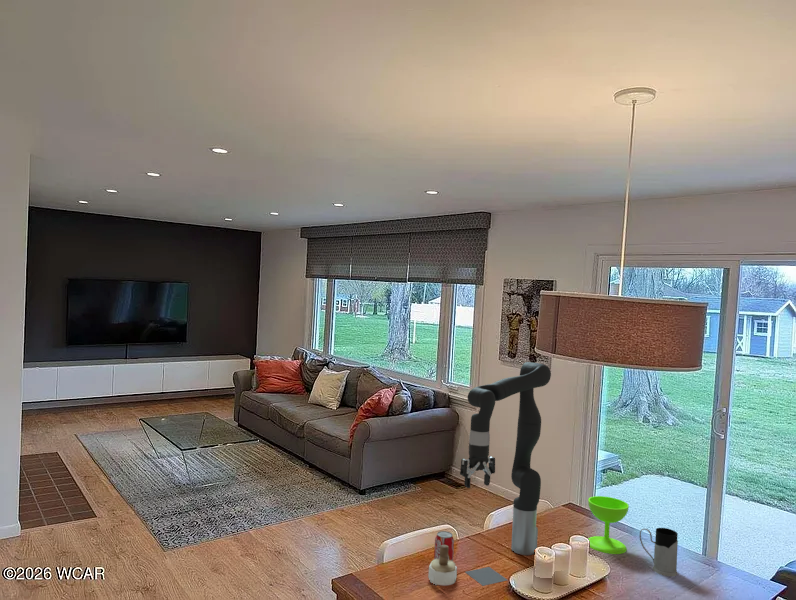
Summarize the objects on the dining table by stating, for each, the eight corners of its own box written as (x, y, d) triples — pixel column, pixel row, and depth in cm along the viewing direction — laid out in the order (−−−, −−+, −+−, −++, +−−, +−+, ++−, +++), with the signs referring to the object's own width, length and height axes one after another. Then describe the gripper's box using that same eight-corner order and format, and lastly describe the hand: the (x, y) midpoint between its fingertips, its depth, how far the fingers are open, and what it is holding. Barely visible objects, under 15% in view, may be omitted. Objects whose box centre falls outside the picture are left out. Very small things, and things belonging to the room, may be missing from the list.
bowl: (446, 572, 205) (446, 558, 205) (460, 583, 197) (461, 570, 197) (424, 576, 201) (424, 563, 201) (438, 588, 193) (438, 574, 193)
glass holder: (673, 578, 209) (675, 538, 210) (634, 565, 219) (636, 526, 219) (680, 571, 216) (682, 532, 216) (642, 559, 225) (644, 521, 226)
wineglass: (634, 549, 235) (636, 505, 235) (611, 557, 226) (613, 511, 226) (601, 535, 248) (603, 494, 248) (578, 542, 239) (580, 499, 239)
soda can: (451, 572, 205) (453, 539, 206) (432, 569, 207) (434, 536, 207) (453, 563, 212) (455, 531, 213) (435, 561, 214) (436, 529, 214)
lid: (446, 559, 205) (447, 540, 205) (459, 569, 197) (460, 549, 197) (426, 563, 201) (427, 543, 201) (439, 573, 193) (440, 553, 194)
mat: (489, 568, 210) (489, 566, 210) (508, 581, 201) (508, 580, 201) (464, 573, 205) (464, 571, 205) (482, 587, 196) (482, 585, 196)
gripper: (488, 439, 217) (486, 481, 217) (457, 441, 211) (455, 485, 210) (500, 443, 211) (498, 487, 210) (469, 446, 204) (467, 491, 204)
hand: (477, 486), depth 210 cm, fingers open, 8 cm apart
